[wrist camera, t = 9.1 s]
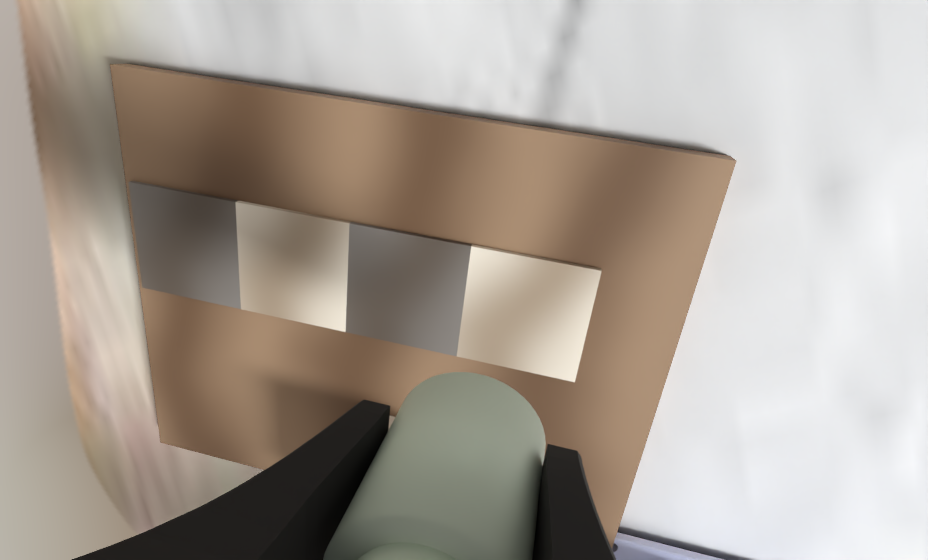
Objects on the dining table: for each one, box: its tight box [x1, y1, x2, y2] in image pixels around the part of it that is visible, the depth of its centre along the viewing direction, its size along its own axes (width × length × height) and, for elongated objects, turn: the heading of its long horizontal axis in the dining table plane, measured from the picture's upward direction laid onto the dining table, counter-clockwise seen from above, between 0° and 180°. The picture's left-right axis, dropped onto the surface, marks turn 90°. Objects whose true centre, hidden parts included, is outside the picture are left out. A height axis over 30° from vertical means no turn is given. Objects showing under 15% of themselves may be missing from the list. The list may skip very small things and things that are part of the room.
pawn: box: [323, 372, 546, 560], centre depth 10 cm, size 3×3×6 cm
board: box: [110, 64, 736, 548], centre depth 20 cm, size 20×16×1 cm
